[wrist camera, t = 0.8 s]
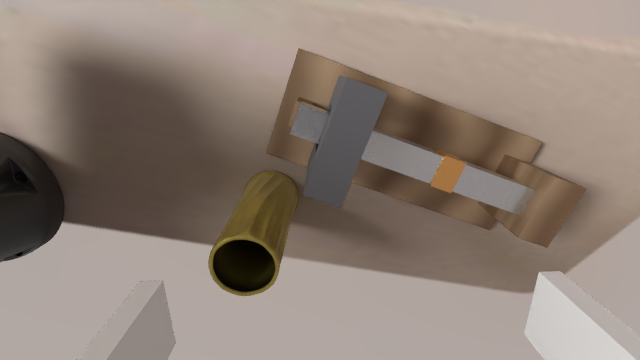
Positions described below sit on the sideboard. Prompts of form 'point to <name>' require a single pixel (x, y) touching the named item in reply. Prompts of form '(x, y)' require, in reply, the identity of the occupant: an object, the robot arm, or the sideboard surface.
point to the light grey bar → (425, 164)
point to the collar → (342, 140)
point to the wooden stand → (433, 132)
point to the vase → (255, 236)
